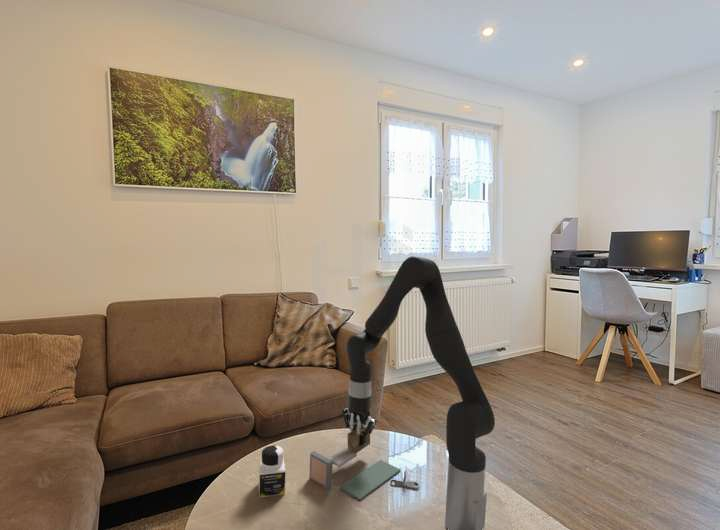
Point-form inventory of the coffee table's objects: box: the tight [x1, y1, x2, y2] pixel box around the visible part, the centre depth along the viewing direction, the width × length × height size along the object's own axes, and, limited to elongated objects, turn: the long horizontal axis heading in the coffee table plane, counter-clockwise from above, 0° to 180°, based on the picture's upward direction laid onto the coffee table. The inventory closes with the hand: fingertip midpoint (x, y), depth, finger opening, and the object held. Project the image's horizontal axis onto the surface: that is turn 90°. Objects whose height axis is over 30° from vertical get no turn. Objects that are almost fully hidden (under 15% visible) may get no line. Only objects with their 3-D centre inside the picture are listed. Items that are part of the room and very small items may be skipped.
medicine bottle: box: [258, 445, 287, 499], centre depth 114 cm, size 7×7×12 cm
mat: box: [339, 459, 401, 501], centre depth 121 cm, size 8×20×1 cm, turn 139°
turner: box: [327, 427, 371, 468], centre depth 128 cm, size 5×16×6 cm, turn 139°
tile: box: [309, 450, 334, 490], centre depth 118 cm, size 8×2×8 cm, turn 49°
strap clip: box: [390, 470, 420, 491], centre depth 119 cm, size 8×3×4 cm, turn 80°
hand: (357, 443), depth 131 cm, fingers closed on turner, 3 cm apart
